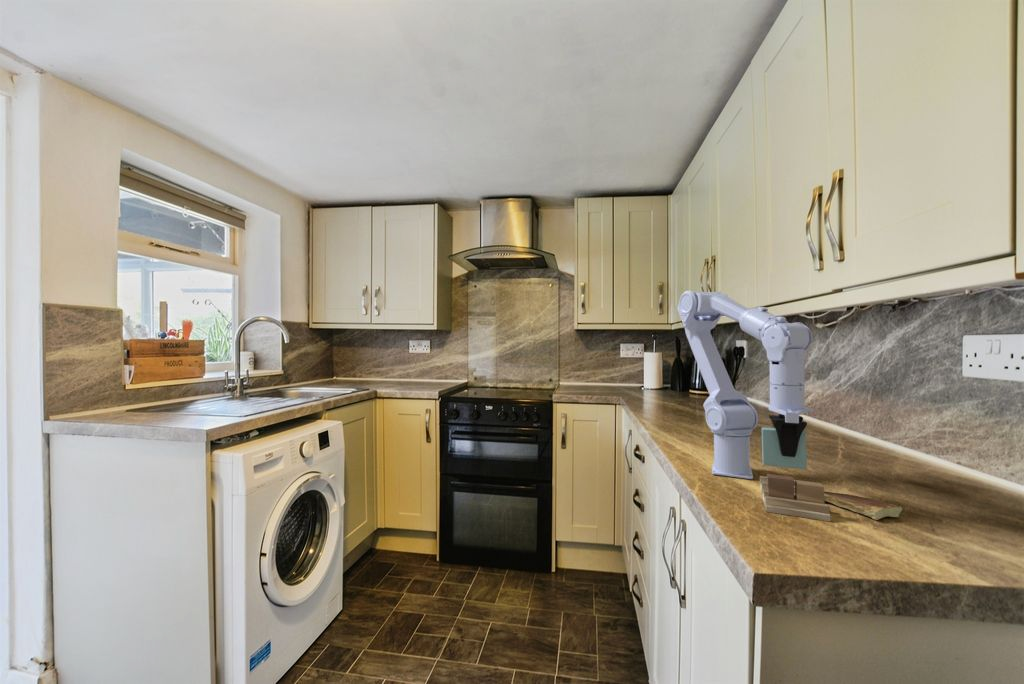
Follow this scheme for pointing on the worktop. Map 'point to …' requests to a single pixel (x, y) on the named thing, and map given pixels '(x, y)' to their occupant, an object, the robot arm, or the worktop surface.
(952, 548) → the worktop surface
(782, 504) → the birch rack
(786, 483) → the walnut offcut
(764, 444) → the teal panel
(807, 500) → the oak offcut
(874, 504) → the shard
